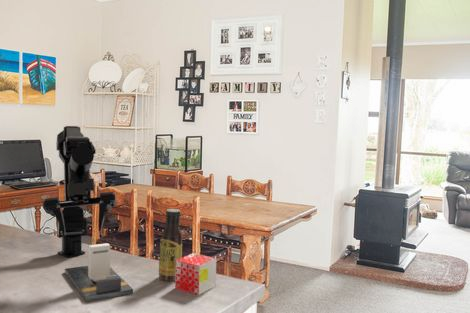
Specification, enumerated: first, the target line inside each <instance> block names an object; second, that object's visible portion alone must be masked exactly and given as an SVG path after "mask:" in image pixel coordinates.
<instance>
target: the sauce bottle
mask: <svg viewBox="0 0 470 313" xmlns="http://www.w3.org/2000/svg"><path fill="white" fill-rule="evenodd" d="M165 216H166V218H165V226H164V229H163V232H162V234H161V237H160V243H159V244H160V245H159V261H158V277H159V279H160V280H162V281H168V282H173V281H175V276H176V260H177V259H180V258H182V257H183V256H182V254H183V232H182V230H181V227H180V216H181V210H180V209H177V208H169V209H168V208H167V209H166V211H165Z"/></svg>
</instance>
